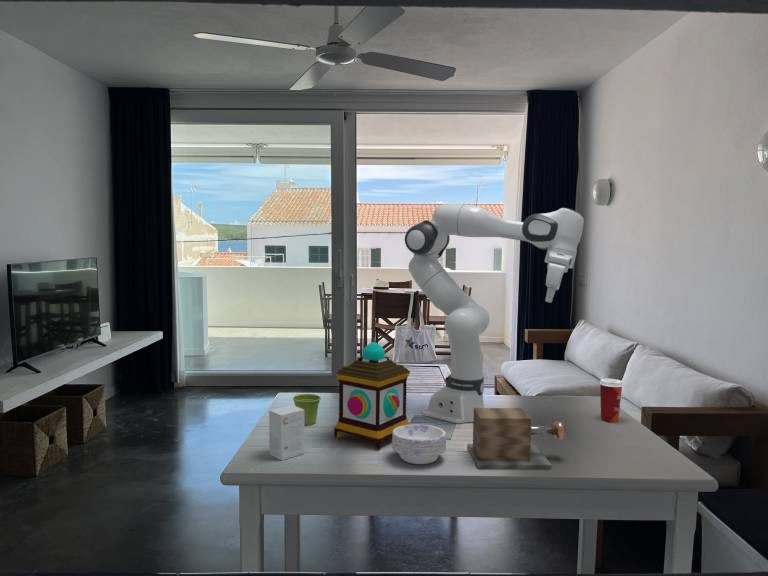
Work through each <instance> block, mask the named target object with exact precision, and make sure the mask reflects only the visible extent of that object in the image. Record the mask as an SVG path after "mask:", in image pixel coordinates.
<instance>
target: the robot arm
mask: <svg viewBox="0 0 768 576" xmlns="http://www.w3.org/2000/svg"><path fill="white" fill-rule="evenodd" d="M584 220H585V219H584V217H583V216H582V214H581V213H580V212H578V211H576V210H574V209H572V208H568V207H561V208H559V209H558V210H555V211H551V212H546V213H544V212H543V213H534V214H531V215H529V216H527V217H526V218H525V219H524V221H516V220H510V219H506V218H502V216H501V217H500V216H498V215H496V214H494V213H493V212H491V211H489V210H488V209H486V208H483V207H480V206H477V205H473V204H467V203H445V204H439V205H438V206H437V207H436V208H435V209H434V211H433V213H432V217H431V219H430V220H428V219H425V220H423V221H421V222H419V223H416V224H414V225H413V226H411V227H409V228H408V230H407V231H406V233H405V235H404V245H405V247H406V248H407V250H409V252H411V253H413V254H414V256H413V257H411V259H410V261H409V263H408V266H407V267H408V271H409V273H410V275H411V277H412V278H413V280H414V282H415V283H416V285H417V286H418V287H419V289H420V290H421V291H422V293H424V295H425V296H426V298H427V299H428V300H429V301H430V302H431V304H432V305H433V306H434V307H435V308H437V309H438V310H440V311H441V312H442V313H444V314H445V315H446V316H447V317H446V318H445V319H444V320H445V321H444V325H443V326H444V330H445V334H447V336H448V342H449V343H448V344H449V348H450V349H449V350H450V357H451V359H450V374H448V376H447V377H445V378H444V383H445V385H444V386H443V387H441V388H440V389H439V390H437V391H436V392H434V393H433V394H432V395H431V396H430V399H429V403H428V406H425V407H424V408H423V409H422V412H421V413H422V415H423V416H424V417H430V418H433V419H437V420H441V421H446V422H450V423H453V424H462V423H463V424H465V423H473V416H474V408H485V406H484V404H485V403H484V395H483V394H484V392H485V391H484V389H485V381H484V380H485V377H484V376H483V374H484V373H483V372H484V354H483V352H482V349H481V343H480V335H481V334H483V333H484V332H485V331H486V330H487V328H488V326H489V324H490V315H489V312H488V311H487V309H485V308H484V307H482V306H481V305H480V304H479V303H477V301H476V300H475V299H473V298H472V296H470V295H469V294H468V293H466V292H465V290H463V289H462V288H461V287H460V286H459V285H458V284H457V283H456V281H455V280H454V279H453V278H452V276H451V275H450V274H449V273H448V272H447V271H446V269H445V268H444V267H443V266H442V264H441V263H440V262H439V260H438V259H440V258H441V257H442V256H443V254H444V251H445V250H446V249H447V247H448V246H449V244H450V239H451V238H450V236H457V237H458V236H459V237H467V238H502V239H503V238H504V239H509V240H510V239H511V240H515V241H516V240H517V241H522V242H527V243H529V244H532V245H533V246H534V247H536V248H538V249H539V250H545V251H546V255H545V258H544V263H546V264H547V266H546V268H547V271H546V272H547V273H546V277H545V278H546V279H545V286H546V287H547V290H546V296H545V302H547V303H550V304H551V303H552V302H553V300H554V296H555V294H556V291H558V290H559V289H560V286H561V284H562V283H561V282H562V279H563V276H564V273H568V272H569V271H568V270H569V269H573V268H574V264H575V261H576V257H577V252H578V249H577V248H578V244H579V243H580V241H581V238H582V233H583V230H584V224H585V223H584V222H585V221H584Z"/></svg>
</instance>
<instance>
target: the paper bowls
mask: <svg viewBox="0 0 768 576" xmlns="http://www.w3.org/2000/svg"><path fill="white" fill-rule="evenodd" d="M409 424H410V423H409ZM391 448H392V449H391V450H393V451H394V452H396V453H397V454H399V456H400V458H401V459H402V460H403V461H404V462H406V463H408V464H412V465H413V464H414V465H428V464H431V463H434V462H436V461H437V459H438V458H439V456H441V455H442V454H444V453H445V452H446V451H447V433H446V431H445V430H444V429H443V428H441V427H438V426H435V425H430V424H423V423H422V424H421V423H417V424H414V423H413V424H410V425H403V426H399V427H397V428H395V429H394V430H393V432H392V436H391Z"/></svg>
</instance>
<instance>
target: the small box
mask: <svg viewBox="0 0 768 576" xmlns="http://www.w3.org/2000/svg"><path fill="white" fill-rule="evenodd" d="M268 419H269V420H268V421H269V422H268V425H269V426H268V428H269V432H268V433H269V434H268V435H269V456H272V457H274V459H275V458H276V459H278V460H279V461H285V460H288V459H291V458H294V457H297V456H302V455H305V452H306V451H305V449H306V448H305V440H306V439H305V433H306V432H305V425H304V409H301V408H299V407H296V406H295V405H288V406H287V405H286V406H282V407H279V408H275V409H270V410H269V411H268Z"/></svg>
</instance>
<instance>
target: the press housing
mask: <svg viewBox="0 0 768 576" xmlns="http://www.w3.org/2000/svg"><path fill="white" fill-rule="evenodd" d="M472 426H473V427H472V443H467V447H466V448H467V450H468V452H469V454H470V456H471V458H472V460H473V462H474V464H475V466H476V468H477V469H478V470H552V467H553V465H552V463H551V462H550V461H549V460H548V458H546V456H545V455H544V454H543V452H542V451H541V450H540V449H539V448H538V446H536V444H535V443H532V442H531V441H532V435H531V426H532V417H530V415H529V414H528V413H527V411H525V410H524V409H523V408H522V407H484V408H474V416H473V422H472Z"/></svg>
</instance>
